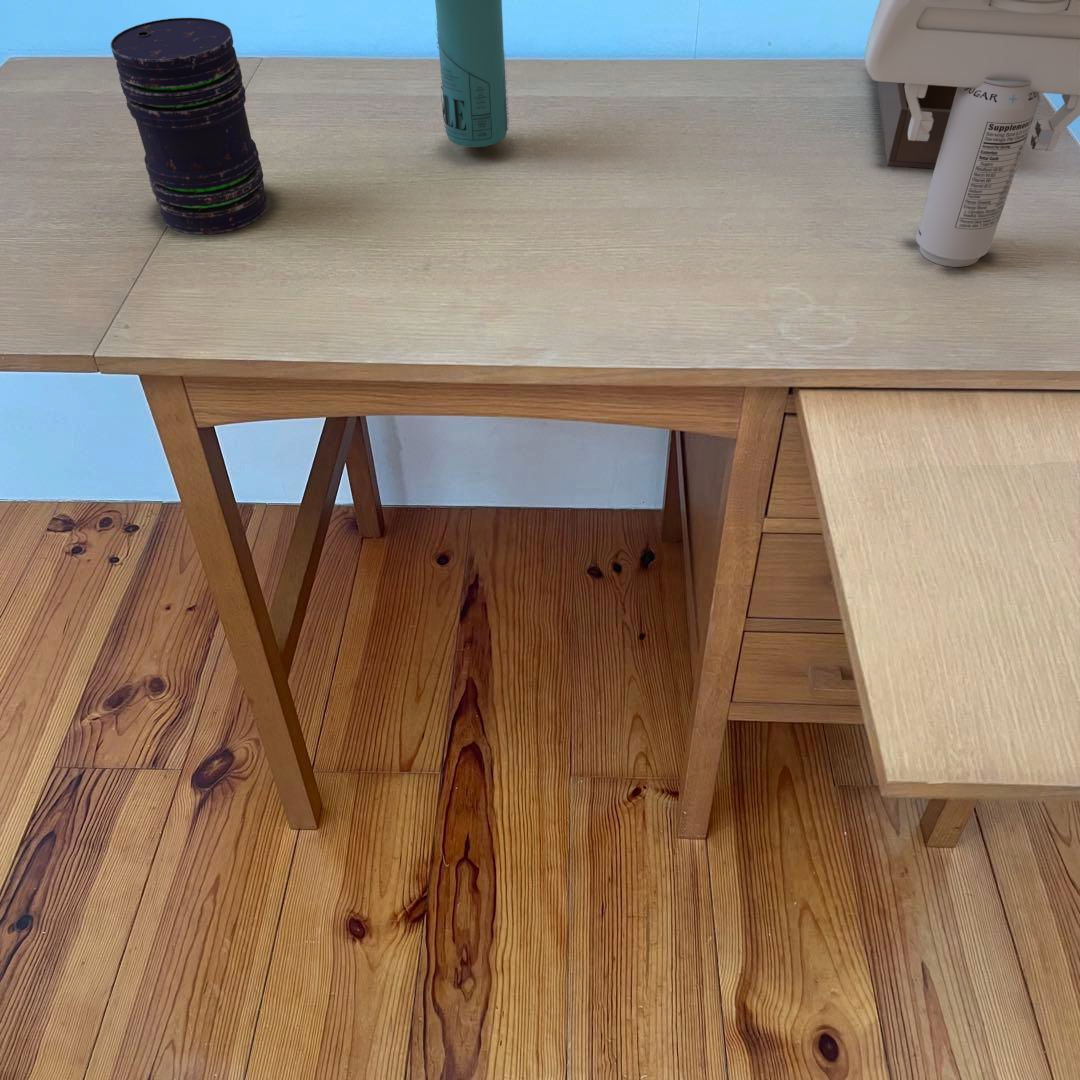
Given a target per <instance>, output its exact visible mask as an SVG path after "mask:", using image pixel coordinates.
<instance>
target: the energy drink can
mask: <svg viewBox="0 0 1080 1080" xmlns="http://www.w3.org/2000/svg"><path fill="white" fill-rule="evenodd" d="M1031 82H1032V81H1030V82H1019V81H1002V80H988V79H984V83H983V84H982V85H981V86H979V87H977V88H967V87H958V88H957V90H956V94H955V97H954V101H953V105H952V108H951V112H950V115H949V119H948V123H947V126H946V130H945V133H944V137H943V141H942V144H941V148H940V151H939V155H938V159H937V162H936V166H935V169H933V174H932V176H931V181H930V184H929V188H928V191H927V196H926V198H925V202H924V205H923V209H922V213H921V217H920V220H919V224H918V228H917V231H916V235H915V241H916V242H917V244H918V246H919V252H920V253H921V255H922V256H923V257H924V258H925V259H926V260H928V261H930V262H932V263H933V264H934V263H935V264H937V265H941V266H945V267H951V268H963V267H968V266H973V265H974V264H976V263H977V262H978V261H979V259H980V258H982V257H983V256H985V255H986V254H988V252H989V251H990V248H991V246H992V242H993V239H994V237H995V234H996V231H997V227H998V225H999V222H1000V219H1001V216H1002V214H1003V210H1004V208H1005V204H1006V201H1007V198H1008V195H1009V192H1010V189H1011V187H1012V184H1013V181H1014V177H1015V175H1016V171H1017V168H1018V166H1019V162H1020V160H1021V156H1022V154H1023V150H1024V147H1025V145H1026V143H1027V139H1028V137H1029V136H1028V135H1029V133H1030V130H1031V127H1032V124H1033V122H1034V118H1035V115H1036V112H1037V109H1038V107H1039V103H1040V93H1037V92H1032V91H1031V89H1030V84H1031Z"/></svg>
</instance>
